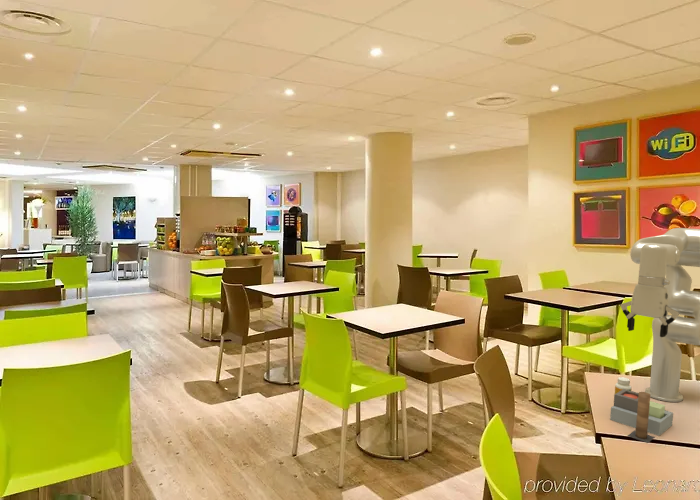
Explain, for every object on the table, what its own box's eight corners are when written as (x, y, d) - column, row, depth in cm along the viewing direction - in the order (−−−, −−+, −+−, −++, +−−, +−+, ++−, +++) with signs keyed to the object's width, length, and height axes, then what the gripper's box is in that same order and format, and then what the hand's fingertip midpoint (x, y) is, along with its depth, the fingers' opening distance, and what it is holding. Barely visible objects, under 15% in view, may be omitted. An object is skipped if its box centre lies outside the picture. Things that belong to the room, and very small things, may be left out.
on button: (648, 415, 172) (649, 400, 171) (663, 419, 168) (665, 405, 168) (643, 418, 169) (644, 404, 168) (658, 423, 165) (660, 408, 165)
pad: (634, 432, 166) (634, 430, 166) (654, 438, 161) (655, 437, 161) (627, 437, 162) (627, 435, 162) (647, 444, 157) (647, 442, 157)
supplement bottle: (618, 400, 192) (620, 375, 191) (633, 405, 188) (635, 379, 186) (610, 403, 189) (612, 378, 188) (625, 408, 185) (627, 382, 184)
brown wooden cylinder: (637, 433, 164) (640, 391, 162) (648, 436, 161) (652, 394, 160) (633, 436, 161) (637, 393, 160) (644, 439, 159) (648, 396, 158)
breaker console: (624, 412, 181) (626, 387, 180) (672, 426, 170) (674, 400, 169) (610, 421, 173) (611, 395, 172) (658, 437, 162) (661, 410, 161)
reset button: (625, 406, 177) (626, 392, 177) (639, 410, 174) (640, 396, 173) (620, 410, 174) (621, 395, 174) (633, 414, 171) (635, 400, 170)
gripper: (685, 285, 163) (680, 337, 164) (627, 278, 176) (623, 327, 177) (677, 286, 158) (671, 340, 159) (618, 279, 171) (614, 329, 173)
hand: (646, 333), depth 168 cm, fingers open, 9 cm apart
